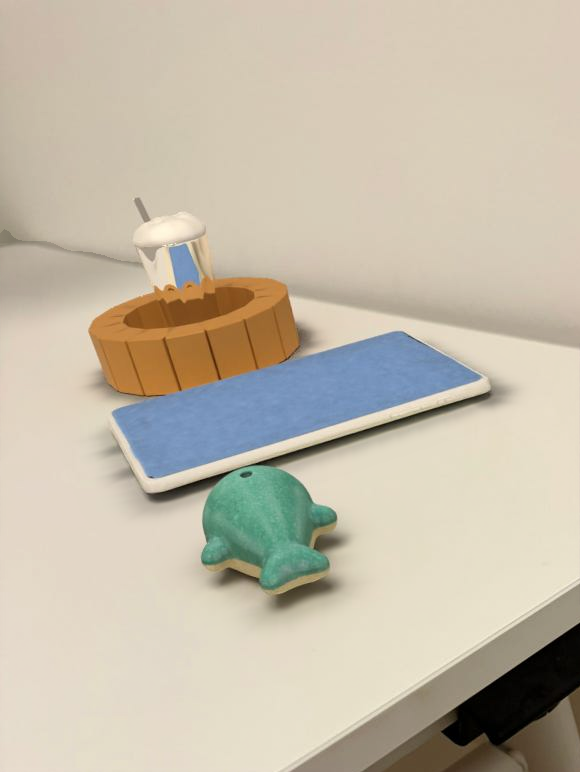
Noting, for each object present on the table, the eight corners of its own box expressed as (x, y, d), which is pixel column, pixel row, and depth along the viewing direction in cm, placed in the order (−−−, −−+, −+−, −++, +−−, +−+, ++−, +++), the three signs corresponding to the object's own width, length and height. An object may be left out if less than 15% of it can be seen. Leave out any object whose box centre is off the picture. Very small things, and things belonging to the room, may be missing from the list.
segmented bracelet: (86, 365, 65) (67, 316, 62) (254, 315, 70) (242, 267, 68) (142, 412, 55) (122, 355, 53) (331, 350, 61) (319, 296, 59)
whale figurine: (319, 511, 42) (299, 434, 40) (373, 582, 36) (353, 496, 34) (194, 551, 40) (165, 473, 38) (230, 632, 35) (200, 545, 32)
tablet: (406, 344, 60) (403, 324, 59) (499, 397, 50) (496, 374, 50) (110, 431, 54) (101, 409, 53) (152, 510, 44) (143, 485, 44)
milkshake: (212, 341, 65) (167, 189, 60) (253, 353, 62) (209, 193, 56) (156, 362, 63) (103, 206, 57) (194, 375, 60) (143, 211, 54)
